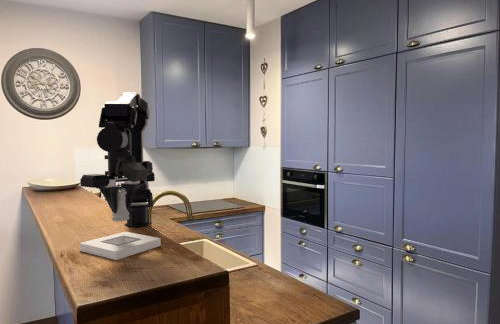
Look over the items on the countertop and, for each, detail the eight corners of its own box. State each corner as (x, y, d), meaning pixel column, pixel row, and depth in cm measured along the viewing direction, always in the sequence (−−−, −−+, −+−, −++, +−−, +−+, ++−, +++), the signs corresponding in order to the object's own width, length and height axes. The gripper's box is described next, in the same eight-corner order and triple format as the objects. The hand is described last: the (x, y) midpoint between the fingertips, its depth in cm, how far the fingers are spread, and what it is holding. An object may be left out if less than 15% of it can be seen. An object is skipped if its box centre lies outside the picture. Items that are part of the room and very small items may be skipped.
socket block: (125, 238, 101) (125, 231, 101) (160, 245, 94) (160, 237, 94) (79, 250, 89) (79, 242, 89) (115, 260, 82) (115, 251, 82)
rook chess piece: (111, 219, 93) (110, 188, 92) (129, 217, 94) (128, 187, 94) (112, 222, 88) (111, 190, 88) (130, 220, 90) (130, 189, 90)
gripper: (108, 152, 78) (109, 222, 79) (168, 151, 94) (169, 209, 95) (78, 151, 84) (79, 216, 85) (140, 150, 100) (141, 205, 101)
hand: (120, 211), depth 91 cm, fingers closed on rook chess piece, 3 cm apart
